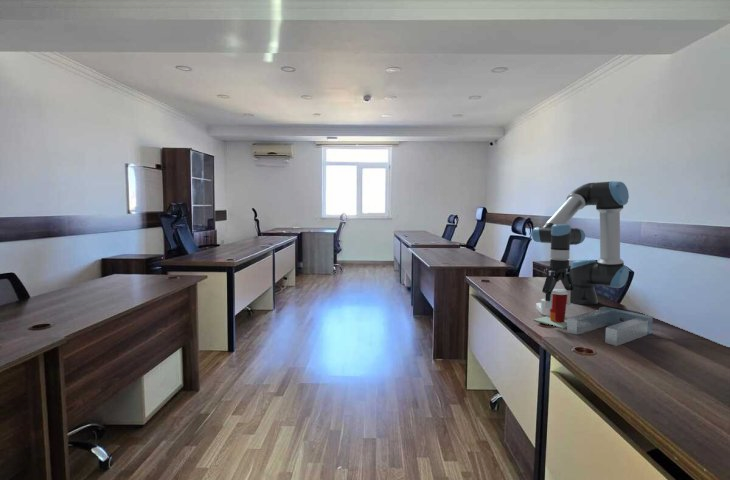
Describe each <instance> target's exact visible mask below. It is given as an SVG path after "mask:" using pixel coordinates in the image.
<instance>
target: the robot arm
mask: <svg viewBox="0 0 730 480" xmlns="http://www.w3.org/2000/svg"><path fill="white" fill-rule="evenodd" d="M629 198H630V196H629V189H628V187H627V185H626V184H625V183H624V182H623V181H613V180H612V181H602V182H601V181H599V182H588V183H584V184H582V185H581V186H579V187H577V188H575V189H574V190H573V191H571V193H569V194H568V195H567V196H566V199H565V201H564V203H563V204H561V206H559V208H558V209H557V210H556V211H555V212H554V214H552V216H551V217H550V218H549V219H548V220H547V221H546V222H545V223H544V225H542V226H535V227H534V228H533V229H532V232H531V237H532V240H533V241H534V242H536V243H541V244H542V243H544V244H550V256H549V258H551V259H550V260H549V267H550V268H551V269H552V270H547V273H546V277H545V278H546V279H545V280H544V281H545V282H544V283H543V287H542V293H543V294H545V298H544V299H545V300H546V303H545V308H549V309H552V298H553V294H551V293H552V291H553V289H555V287H556V286H557V283H558V282H559V281H561V284H562V285H563V288H564V290H567V293H568V294H567V302H566V306H570V305H571V304H572V303H573V304H578V305H587V306H588V305H590V306H591V305H597V304H598V303H599V302H598V297H597V292H596V289H595V286H602V287H609V288H616V289H617V288H618V289H619V288H623V287H624V286H625V285H626V283H627V281H628V279H629V275H630V270H629V267H628V266H626V265H625V264H624V262H625V261H624V260H623V259H622V258H621V218H620V215H621V211H622V210H623V209H624V206H625V205H627V204H628V202H629ZM588 206H595V210H596V211H597V212H598V213H599V251H600V252H599V253H600V254H599V255H600V257H599V259H597V261H596V259H578V260H577V259H576V260H572V261H571V263H570V260H569V259H570V251H571V250H570V247H571V245H574V246H577V245H580V244H582V243H583V242H584V241H585V239H586V233H585V231H584V229H582V228H577V227H571V225H570V224H568V223H569V222H570V221H571V219H573V217H574V216H575V215H576V214H577V212H578V211H580V210H582V209H584V208H585V207H588Z"/></svg>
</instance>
